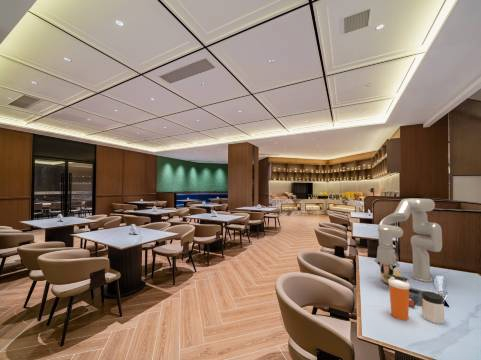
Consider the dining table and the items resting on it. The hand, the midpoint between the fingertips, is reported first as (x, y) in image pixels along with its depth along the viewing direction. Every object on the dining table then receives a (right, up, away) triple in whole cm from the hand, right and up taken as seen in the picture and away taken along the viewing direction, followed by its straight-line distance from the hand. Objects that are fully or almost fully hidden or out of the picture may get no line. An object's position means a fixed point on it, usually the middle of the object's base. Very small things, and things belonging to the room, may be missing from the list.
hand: (386, 273), depth 137 cm
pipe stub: (0, -3, 0) cm, 3 cm away
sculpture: (+9, -11, +9) cm, 17 cm away
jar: (+1, -9, -31) cm, 33 cm away
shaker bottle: (-14, -9, -29) cm, 34 cm away
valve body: (+4, -10, -15) cm, 19 cm away
